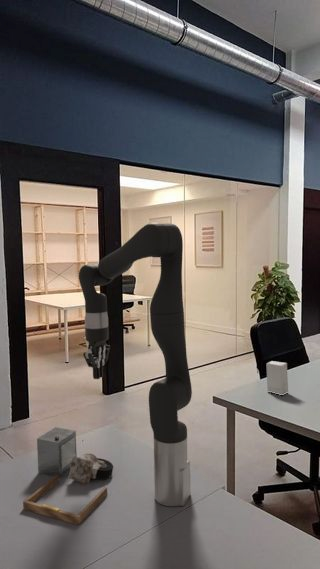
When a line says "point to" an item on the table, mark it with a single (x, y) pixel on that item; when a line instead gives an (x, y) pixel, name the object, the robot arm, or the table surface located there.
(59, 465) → the control box
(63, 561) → the table surface
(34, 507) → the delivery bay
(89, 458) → the caster wheel
